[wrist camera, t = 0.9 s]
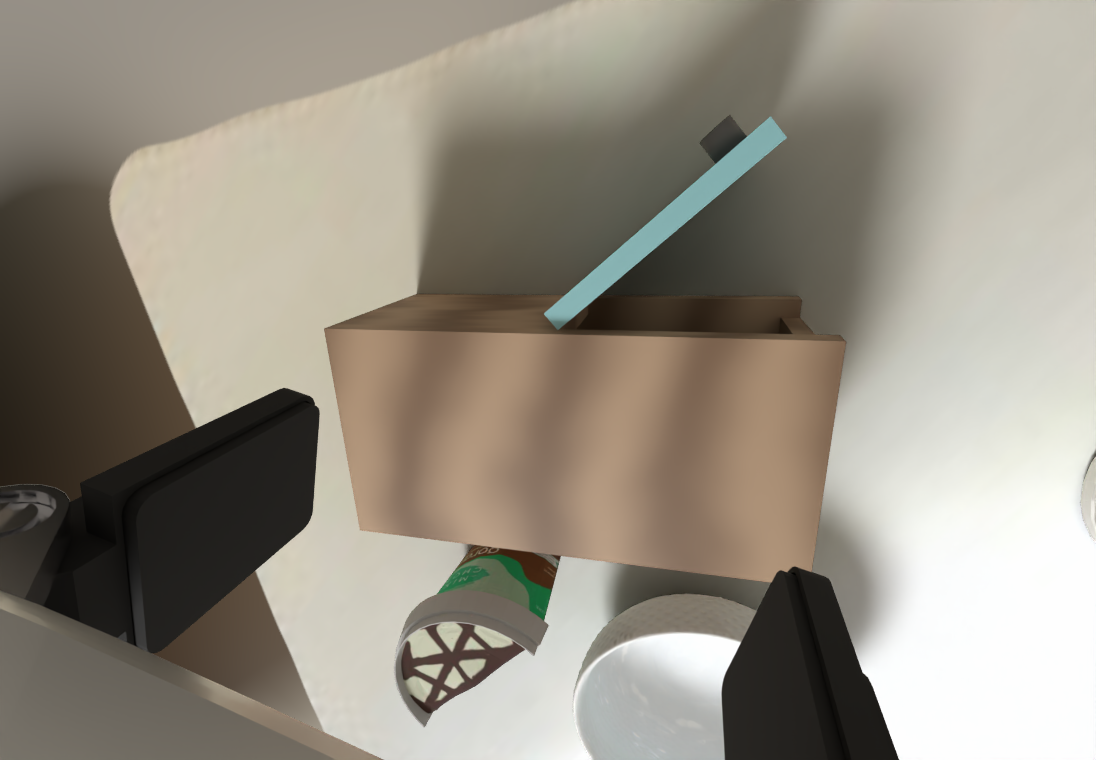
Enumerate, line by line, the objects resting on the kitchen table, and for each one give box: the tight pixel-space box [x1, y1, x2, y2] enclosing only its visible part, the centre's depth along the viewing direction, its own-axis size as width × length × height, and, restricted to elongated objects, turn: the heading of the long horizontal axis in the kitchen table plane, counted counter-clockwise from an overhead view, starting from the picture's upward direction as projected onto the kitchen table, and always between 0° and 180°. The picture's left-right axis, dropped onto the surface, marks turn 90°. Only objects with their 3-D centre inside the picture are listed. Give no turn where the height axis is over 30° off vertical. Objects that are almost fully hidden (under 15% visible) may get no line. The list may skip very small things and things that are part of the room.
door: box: [544, 115, 787, 330], centre depth 26 cm, size 12×2×9 cm, turn 133°
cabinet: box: [324, 294, 846, 583], centre depth 31 cm, size 24×12×10 cm, turn 93°
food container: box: [394, 545, 561, 727], centre depth 37 cm, size 12×6×10 cm, turn 137°
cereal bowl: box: [573, 594, 757, 760], centre depth 37 cm, size 17×17×7 cm
